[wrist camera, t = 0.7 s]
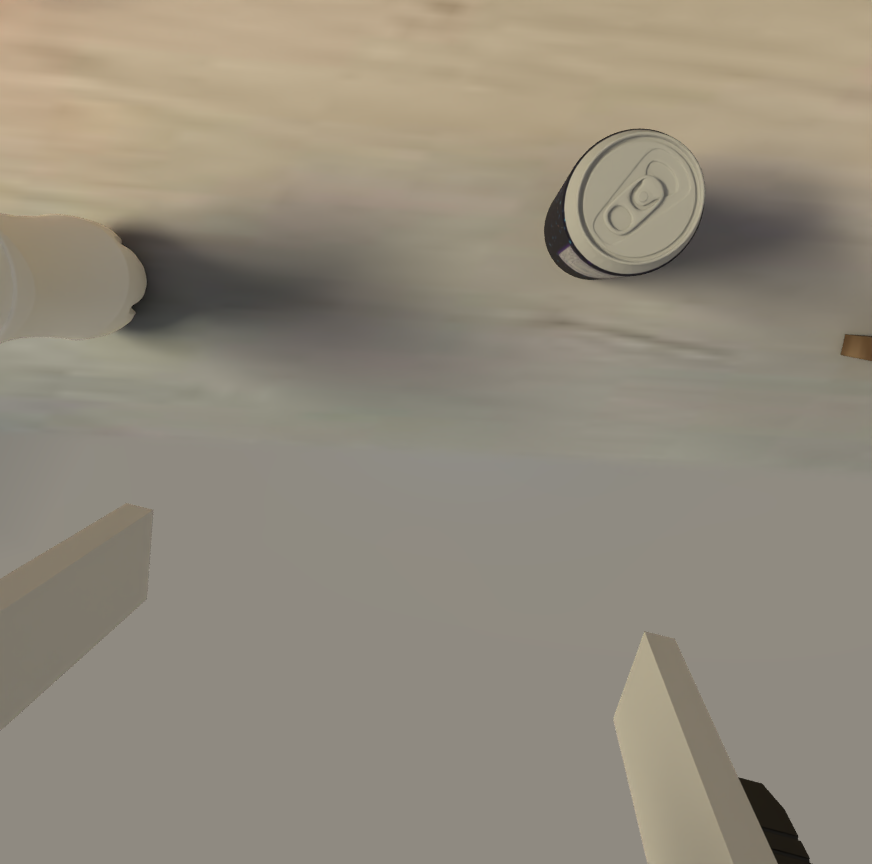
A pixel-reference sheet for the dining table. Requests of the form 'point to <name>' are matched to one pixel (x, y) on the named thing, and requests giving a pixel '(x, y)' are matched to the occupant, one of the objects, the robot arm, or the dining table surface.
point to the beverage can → (626, 206)
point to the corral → (857, 347)
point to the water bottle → (65, 278)
